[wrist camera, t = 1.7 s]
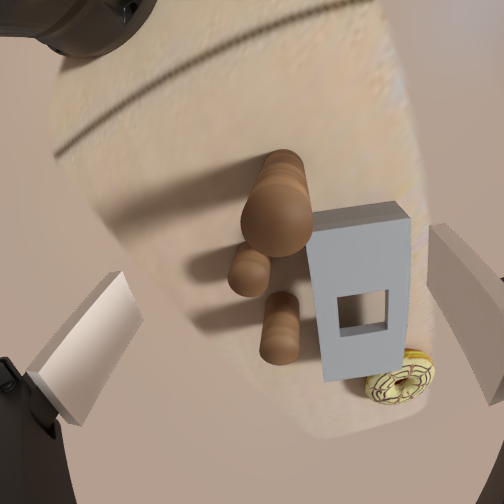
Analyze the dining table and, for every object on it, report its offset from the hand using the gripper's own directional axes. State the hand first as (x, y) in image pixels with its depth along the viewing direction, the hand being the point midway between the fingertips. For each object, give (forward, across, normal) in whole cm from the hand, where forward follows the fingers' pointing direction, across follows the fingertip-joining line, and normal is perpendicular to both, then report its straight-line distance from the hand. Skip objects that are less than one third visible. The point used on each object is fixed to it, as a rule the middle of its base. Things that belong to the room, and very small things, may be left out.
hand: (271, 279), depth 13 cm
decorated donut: (+21, +12, -31) cm, 39 cm away
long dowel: (+20, 0, 0) cm, 20 cm away
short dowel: (+20, -5, -9) cm, 23 cm away
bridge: (+20, +6, -15) cm, 26 cm away
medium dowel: (+20, -3, -16) cm, 26 cm away
